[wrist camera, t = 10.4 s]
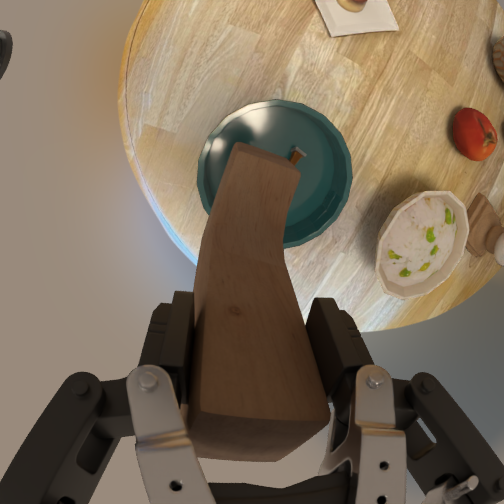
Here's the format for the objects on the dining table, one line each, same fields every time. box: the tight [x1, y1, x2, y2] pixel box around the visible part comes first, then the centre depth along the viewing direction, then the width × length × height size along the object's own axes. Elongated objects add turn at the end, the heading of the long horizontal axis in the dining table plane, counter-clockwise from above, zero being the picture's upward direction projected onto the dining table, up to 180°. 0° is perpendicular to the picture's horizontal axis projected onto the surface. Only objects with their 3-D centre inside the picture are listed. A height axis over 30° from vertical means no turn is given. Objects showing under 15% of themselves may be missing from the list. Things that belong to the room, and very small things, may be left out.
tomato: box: [453, 108, 497, 161], centre depth 32 cm, size 9×9×8 cm
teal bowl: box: [197, 99, 353, 249], centre depth 36 cm, size 20×20×6 cm
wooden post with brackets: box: [289, 147, 307, 166], centre depth 37 cm, size 2×8×4 cm, turn 143°
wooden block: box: [180, 142, 331, 462], centre depth 15 cm, size 9×4×18 cm, turn 160°
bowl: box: [375, 191, 469, 300], centre depth 40 cm, size 19×19×10 cm
